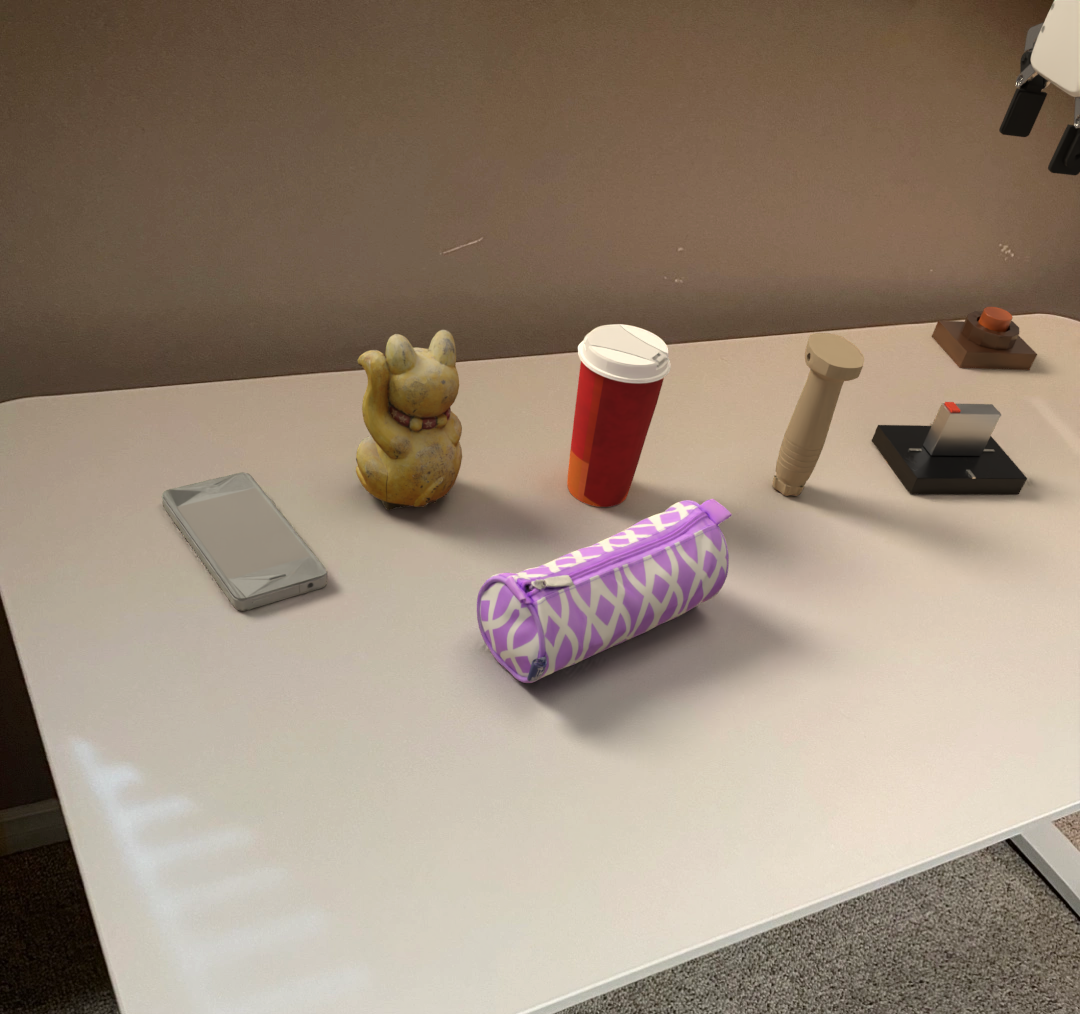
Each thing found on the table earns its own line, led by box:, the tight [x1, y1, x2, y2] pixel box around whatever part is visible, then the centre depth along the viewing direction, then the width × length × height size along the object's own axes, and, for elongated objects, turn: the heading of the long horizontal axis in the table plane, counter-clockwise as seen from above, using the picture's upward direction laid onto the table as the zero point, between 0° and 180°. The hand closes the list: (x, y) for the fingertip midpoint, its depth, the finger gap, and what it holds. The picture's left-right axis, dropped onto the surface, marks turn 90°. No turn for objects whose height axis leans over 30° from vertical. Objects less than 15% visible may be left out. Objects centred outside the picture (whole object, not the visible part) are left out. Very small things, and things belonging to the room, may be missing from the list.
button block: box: [931, 310, 1038, 371], centre depth 136 cm, size 10×8×4 cm
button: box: [978, 306, 1013, 332], centre depth 134 cm, size 4×4×2 cm
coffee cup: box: [566, 323, 672, 508], centre depth 99 cm, size 8×8×15 cm
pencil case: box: [476, 498, 733, 684], centre depth 87 cm, size 22×9×10 cm, turn 130°
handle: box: [771, 332, 865, 497], centre depth 104 cm, size 5×6×15 cm
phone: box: [161, 471, 328, 612], centre depth 91 cm, size 8×16×1 cm, turn 35°
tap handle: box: [923, 401, 1002, 456], centre depth 113 cm, size 6×2×5 cm, turn 102°
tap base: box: [871, 423, 1028, 495], centre depth 116 cm, size 13×10×2 cm
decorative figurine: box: [355, 329, 463, 511], centre depth 94 cm, size 10×8×15 cm
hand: (1036, 153), depth 105 cm, fingers open, 9 cm apart
